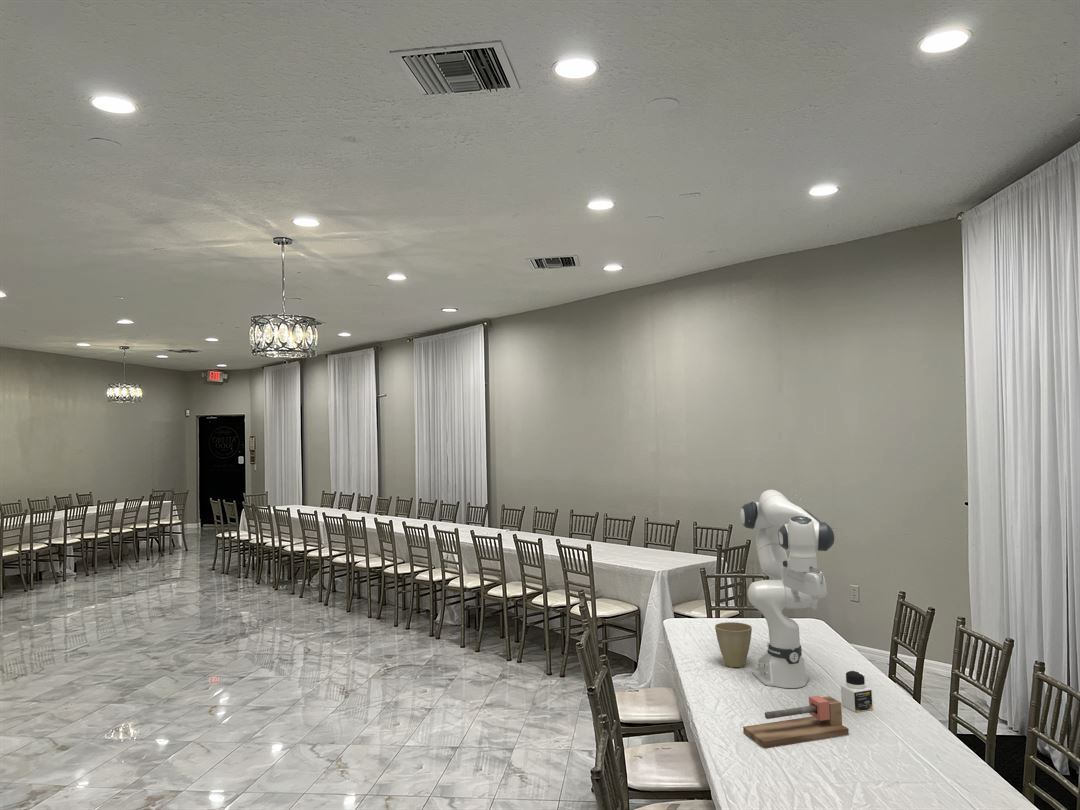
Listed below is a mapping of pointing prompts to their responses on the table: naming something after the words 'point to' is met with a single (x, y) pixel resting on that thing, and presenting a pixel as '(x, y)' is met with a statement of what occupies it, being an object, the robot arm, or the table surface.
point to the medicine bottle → (856, 692)
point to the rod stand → (798, 726)
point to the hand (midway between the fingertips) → (805, 605)
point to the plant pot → (734, 642)
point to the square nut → (820, 708)
